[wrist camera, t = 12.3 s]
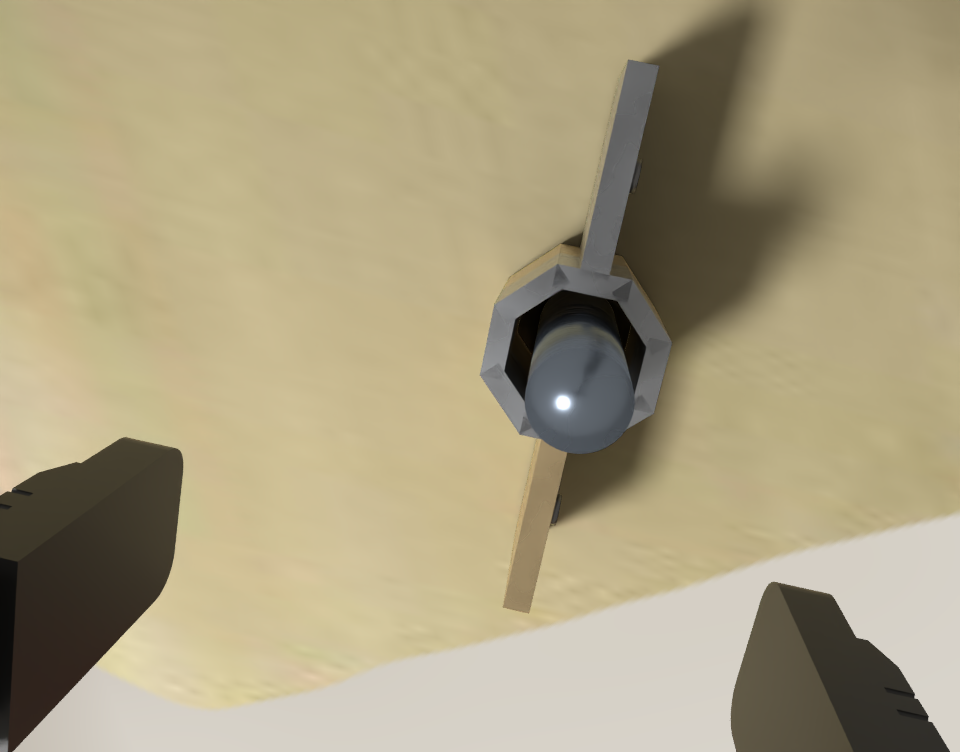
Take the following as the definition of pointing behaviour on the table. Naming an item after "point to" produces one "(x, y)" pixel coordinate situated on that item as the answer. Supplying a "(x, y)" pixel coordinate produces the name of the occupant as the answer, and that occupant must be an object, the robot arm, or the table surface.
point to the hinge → (586, 274)
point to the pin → (578, 375)
